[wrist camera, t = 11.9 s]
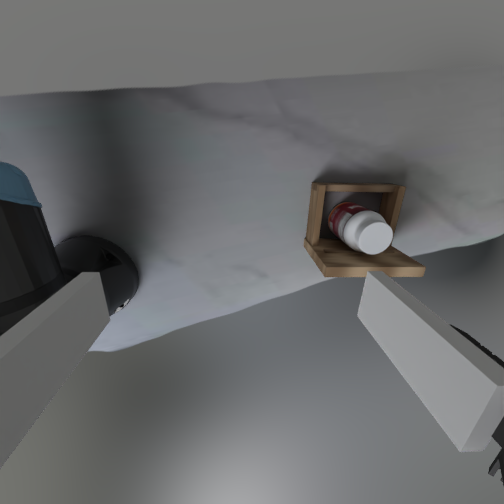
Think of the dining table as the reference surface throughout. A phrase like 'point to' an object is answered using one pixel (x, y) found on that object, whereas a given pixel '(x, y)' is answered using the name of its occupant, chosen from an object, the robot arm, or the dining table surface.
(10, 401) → the robot arm
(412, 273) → the brown wooden l-shaped frame
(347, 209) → the pill bottle
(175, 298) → the dining table surface
